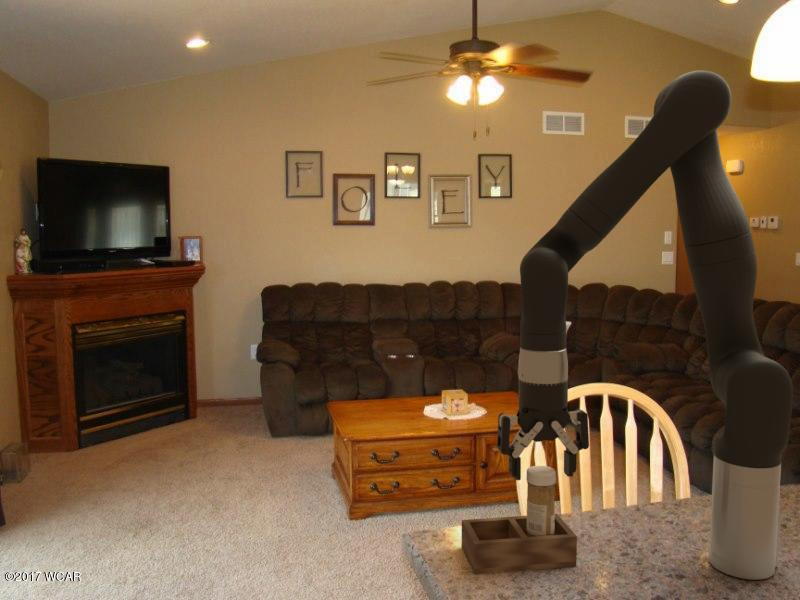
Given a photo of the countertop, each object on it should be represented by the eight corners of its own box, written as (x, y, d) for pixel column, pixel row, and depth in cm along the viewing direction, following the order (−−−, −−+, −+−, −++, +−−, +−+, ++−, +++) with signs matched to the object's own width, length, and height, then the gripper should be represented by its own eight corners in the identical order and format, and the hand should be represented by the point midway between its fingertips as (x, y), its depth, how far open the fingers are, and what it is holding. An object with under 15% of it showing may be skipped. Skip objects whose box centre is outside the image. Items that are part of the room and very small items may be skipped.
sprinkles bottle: (560, 552, 112) (562, 470, 111) (539, 560, 110) (541, 476, 108) (539, 541, 116) (541, 462, 114) (519, 548, 114) (520, 468, 112)
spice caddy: (556, 541, 118) (556, 513, 117) (576, 566, 109) (577, 536, 109) (461, 548, 116) (461, 520, 115) (474, 574, 107) (474, 544, 107)
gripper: (505, 384, 105) (505, 489, 107) (596, 379, 107) (595, 482, 109) (491, 373, 112) (492, 471, 114) (577, 368, 114) (576, 465, 116)
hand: (542, 476), depth 112 cm, fingers open, 8 cm apart
